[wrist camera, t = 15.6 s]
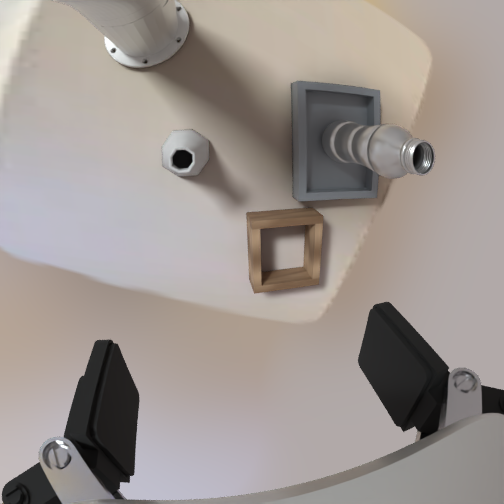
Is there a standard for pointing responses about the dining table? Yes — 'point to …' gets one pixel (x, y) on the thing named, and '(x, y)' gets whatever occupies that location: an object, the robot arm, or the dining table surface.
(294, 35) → the dining table surface
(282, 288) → the holder
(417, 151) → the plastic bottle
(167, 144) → the flask
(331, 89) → the parts tray
